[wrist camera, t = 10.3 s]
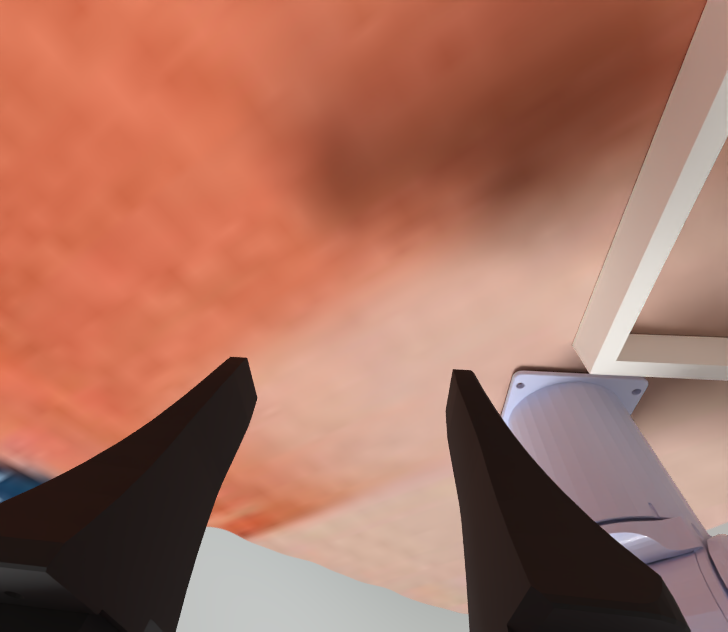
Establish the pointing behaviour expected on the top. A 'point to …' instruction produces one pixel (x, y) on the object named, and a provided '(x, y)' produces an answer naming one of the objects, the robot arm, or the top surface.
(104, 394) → the top surface
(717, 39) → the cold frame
